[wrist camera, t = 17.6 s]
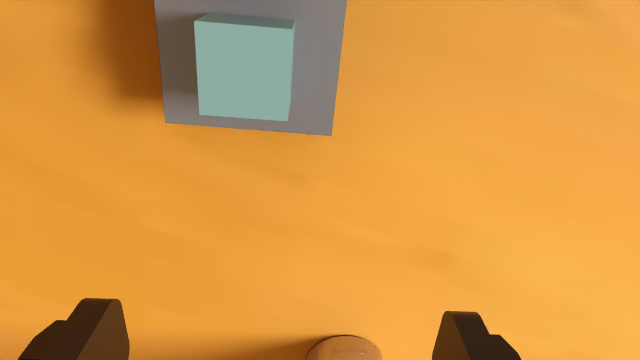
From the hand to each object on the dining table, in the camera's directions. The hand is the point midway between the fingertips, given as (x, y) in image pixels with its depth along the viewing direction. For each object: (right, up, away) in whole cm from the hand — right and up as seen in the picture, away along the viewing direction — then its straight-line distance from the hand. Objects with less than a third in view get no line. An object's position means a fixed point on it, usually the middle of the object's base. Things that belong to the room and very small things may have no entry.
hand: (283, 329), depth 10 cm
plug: (-4, +14, +20) cm, 24 cm away
